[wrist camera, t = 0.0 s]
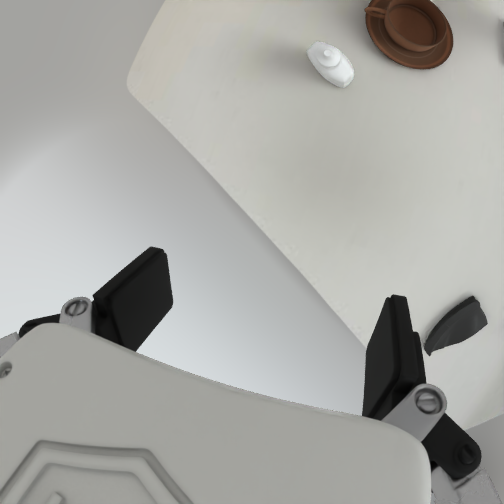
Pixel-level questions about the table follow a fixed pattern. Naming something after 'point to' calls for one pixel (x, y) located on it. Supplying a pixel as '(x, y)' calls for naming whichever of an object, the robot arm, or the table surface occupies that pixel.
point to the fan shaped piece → (457, 325)
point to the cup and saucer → (410, 32)
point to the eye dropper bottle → (331, 63)
